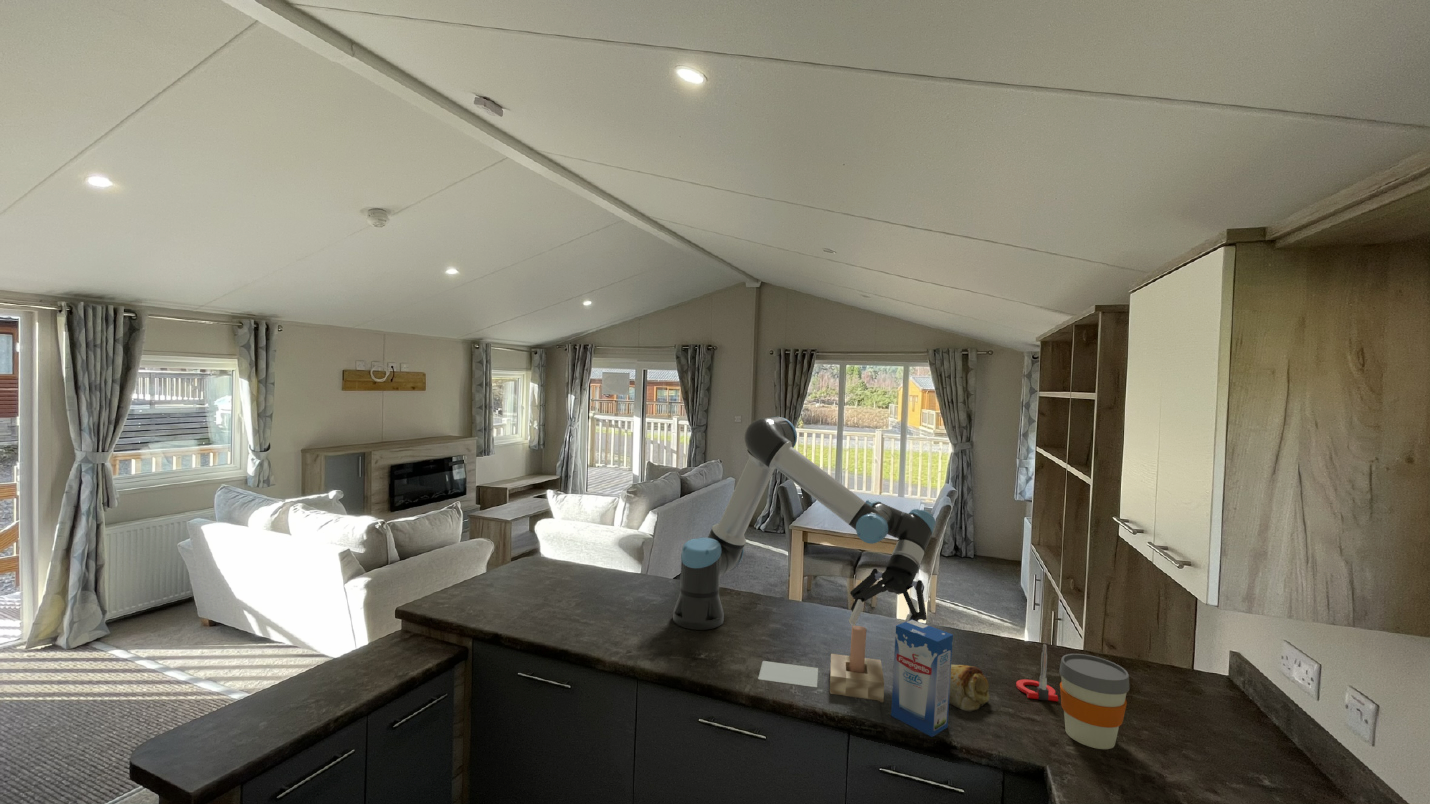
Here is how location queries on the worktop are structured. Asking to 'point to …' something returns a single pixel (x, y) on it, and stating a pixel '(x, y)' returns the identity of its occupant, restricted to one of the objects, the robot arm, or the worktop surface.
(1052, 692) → the tow hook
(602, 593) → the worktop surface
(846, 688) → the hole block
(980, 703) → the pastry
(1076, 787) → the worktop surface
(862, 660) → the peg
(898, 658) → the milk carton
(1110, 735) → the reusable coffee cup
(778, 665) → the mat
